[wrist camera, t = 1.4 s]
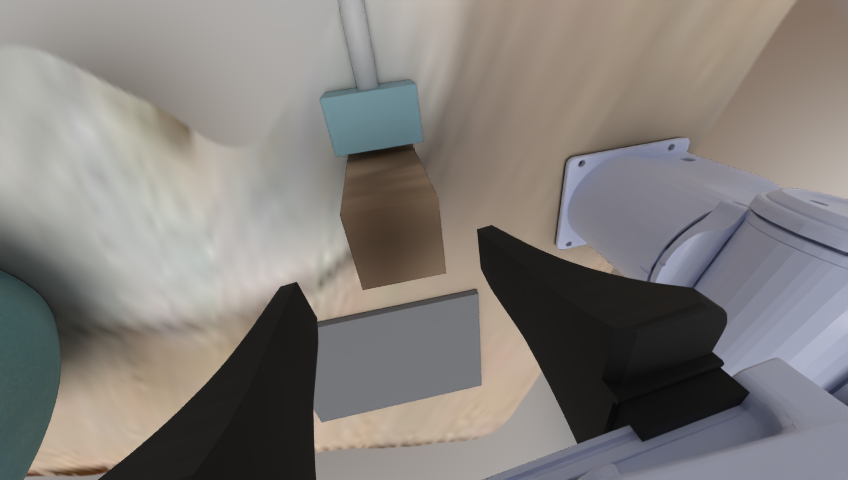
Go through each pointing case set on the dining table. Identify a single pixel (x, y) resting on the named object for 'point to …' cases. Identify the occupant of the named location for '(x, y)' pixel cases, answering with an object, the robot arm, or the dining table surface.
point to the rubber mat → (397, 355)
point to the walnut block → (391, 217)
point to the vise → (369, 97)
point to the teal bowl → (25, 374)
